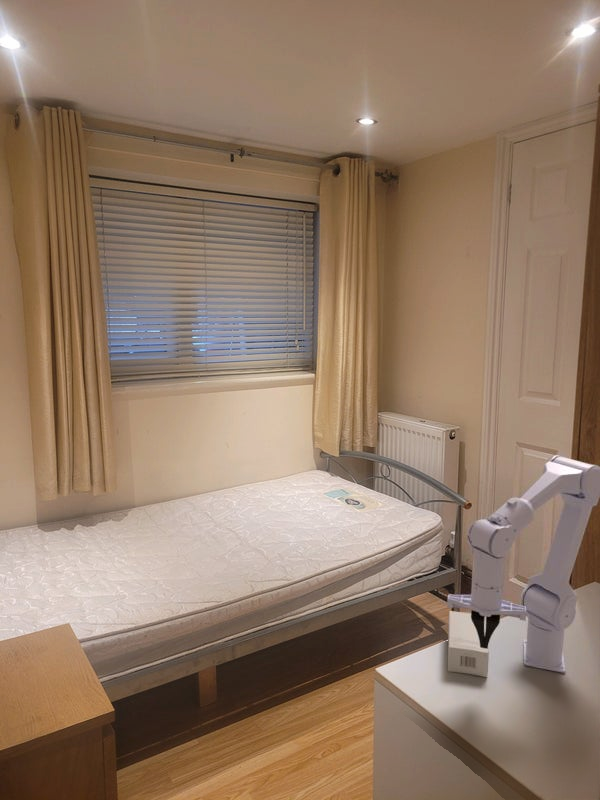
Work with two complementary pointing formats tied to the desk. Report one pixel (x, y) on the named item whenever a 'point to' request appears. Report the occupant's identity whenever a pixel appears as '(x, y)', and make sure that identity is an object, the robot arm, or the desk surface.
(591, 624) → the desk surface
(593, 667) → the desk surface
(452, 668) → the skincare box
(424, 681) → the desk surface
